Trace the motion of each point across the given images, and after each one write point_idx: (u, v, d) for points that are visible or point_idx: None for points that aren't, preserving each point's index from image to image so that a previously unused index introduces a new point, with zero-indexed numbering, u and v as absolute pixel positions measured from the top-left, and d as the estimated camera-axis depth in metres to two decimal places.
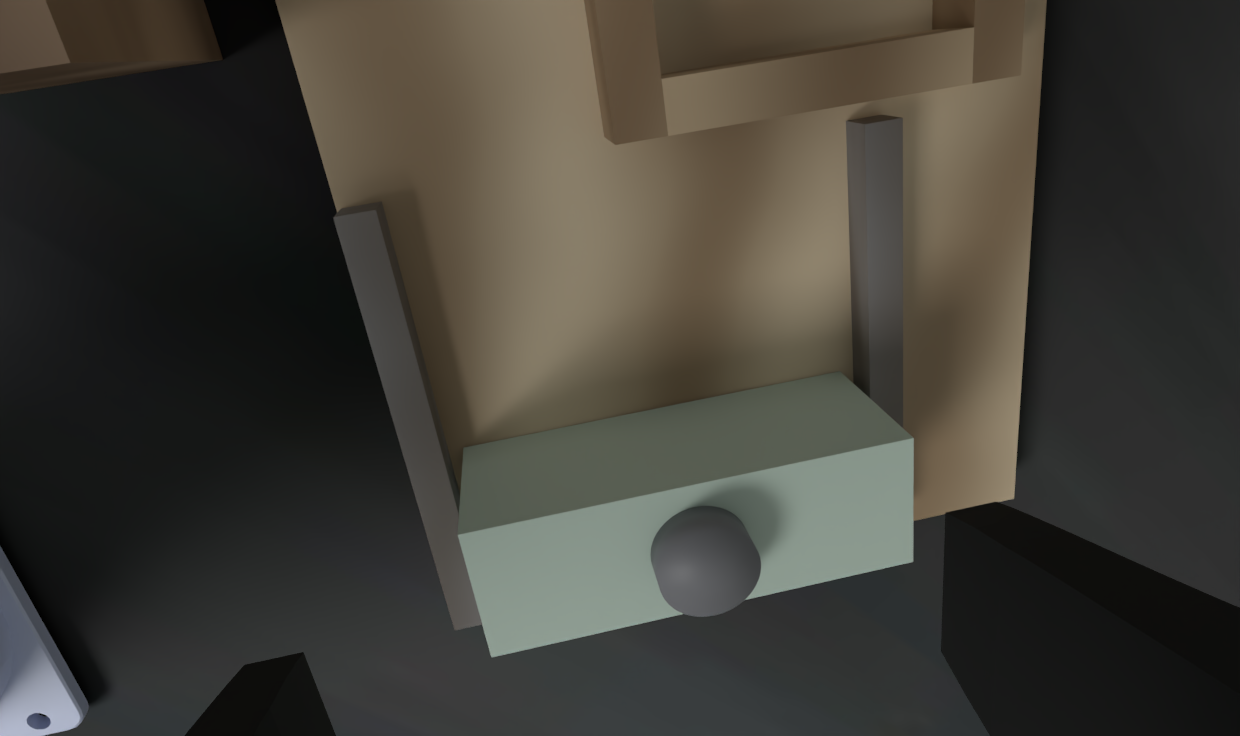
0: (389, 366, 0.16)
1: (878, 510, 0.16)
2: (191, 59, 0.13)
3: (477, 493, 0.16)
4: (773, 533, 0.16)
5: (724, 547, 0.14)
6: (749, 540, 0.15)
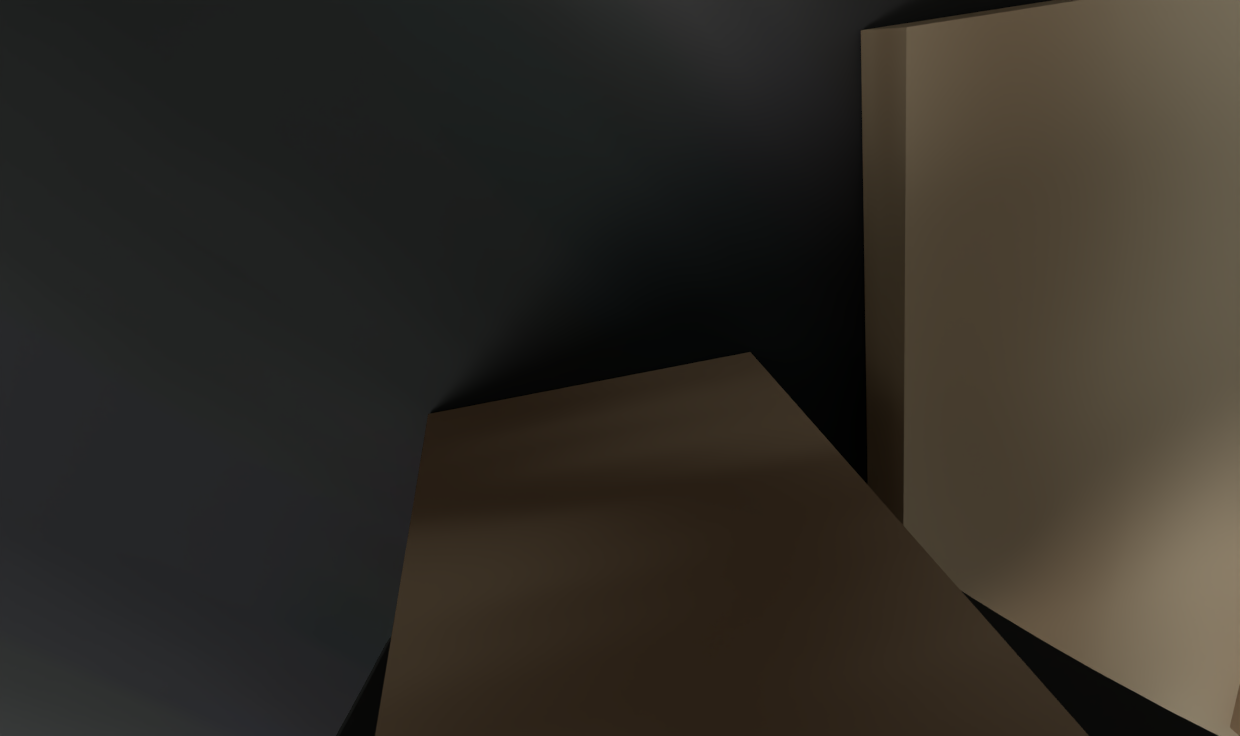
0: None
1: None
2: None
3: None
4: None
5: None
6: None
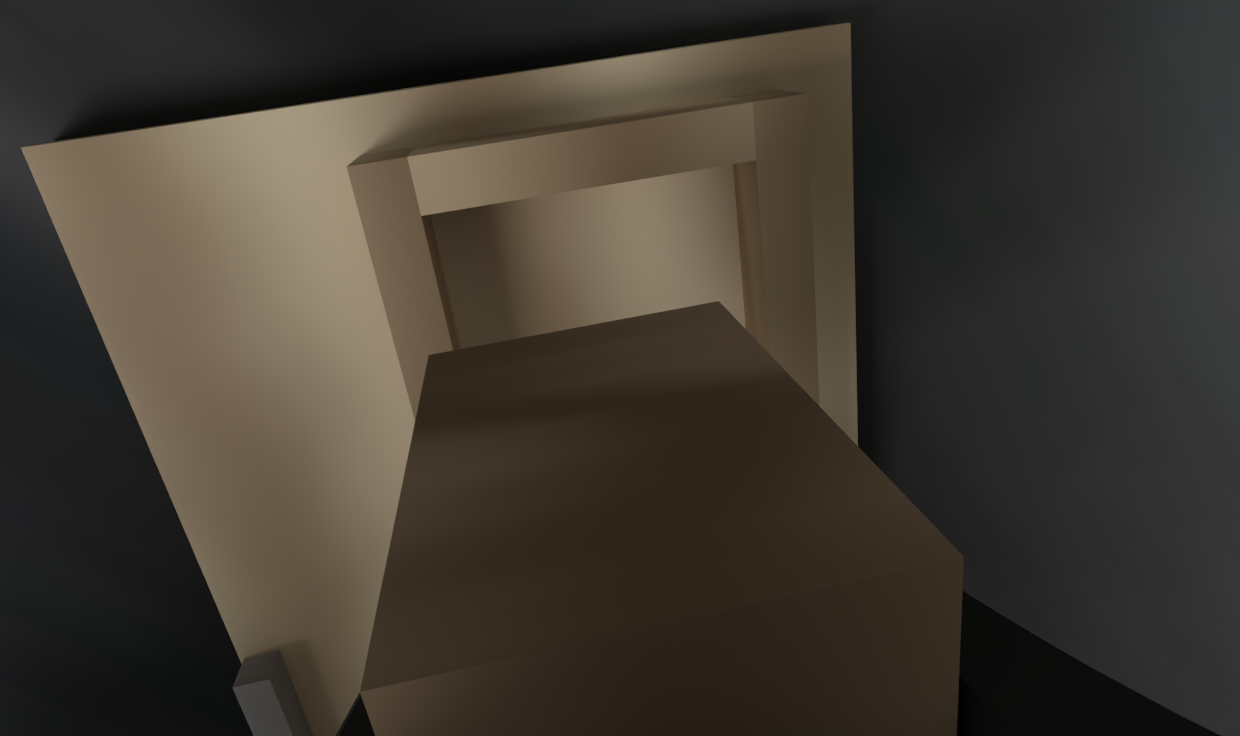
0: None
1: None
2: None
3: None
4: None
5: None
6: None
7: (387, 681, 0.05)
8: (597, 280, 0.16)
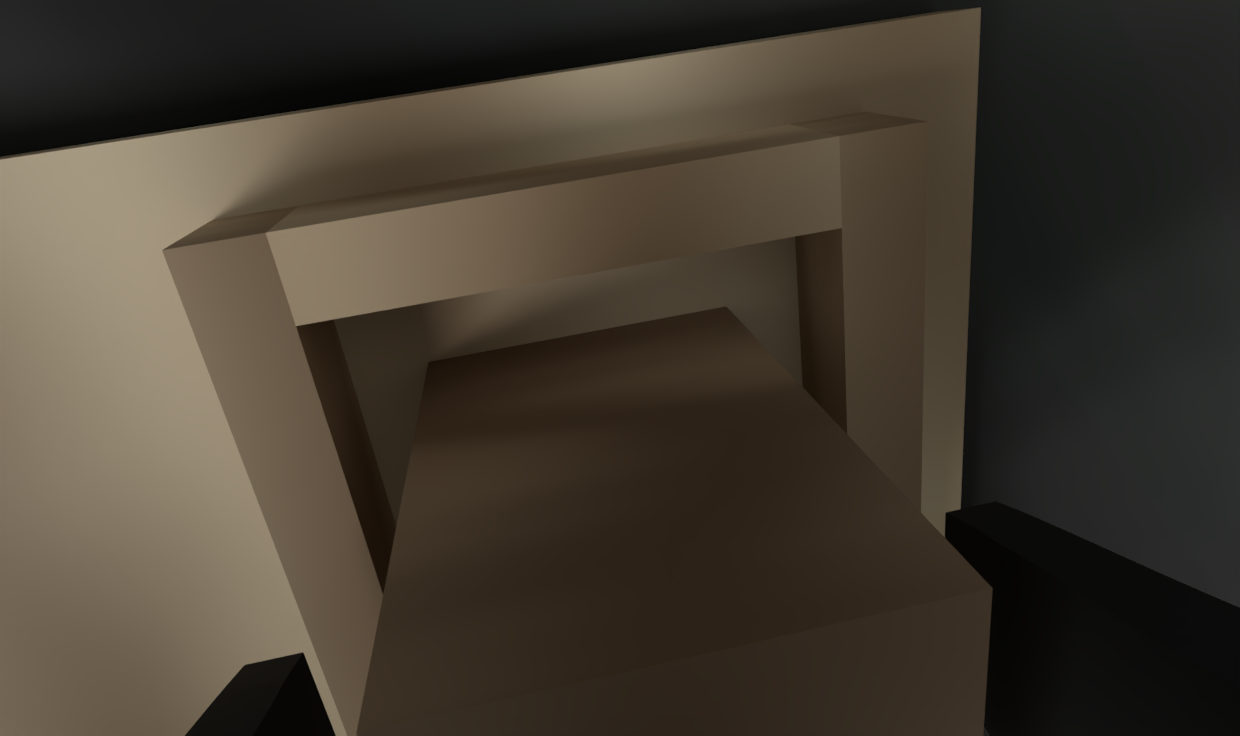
0: None
1: None
2: None
3: None
4: None
5: None
6: None
7: (385, 721, 0.05)
8: None
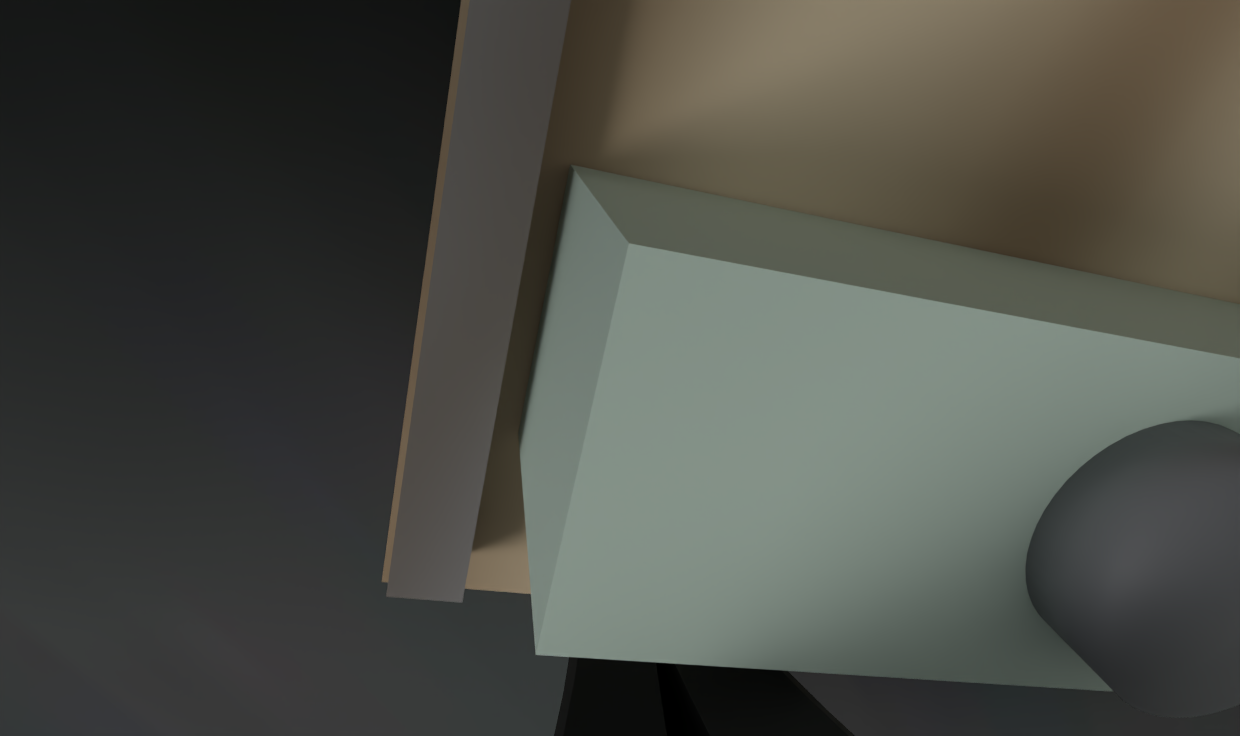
0: None
1: None
2: None
3: (644, 211, 0.06)
4: None
5: None
6: None
7: None
8: None
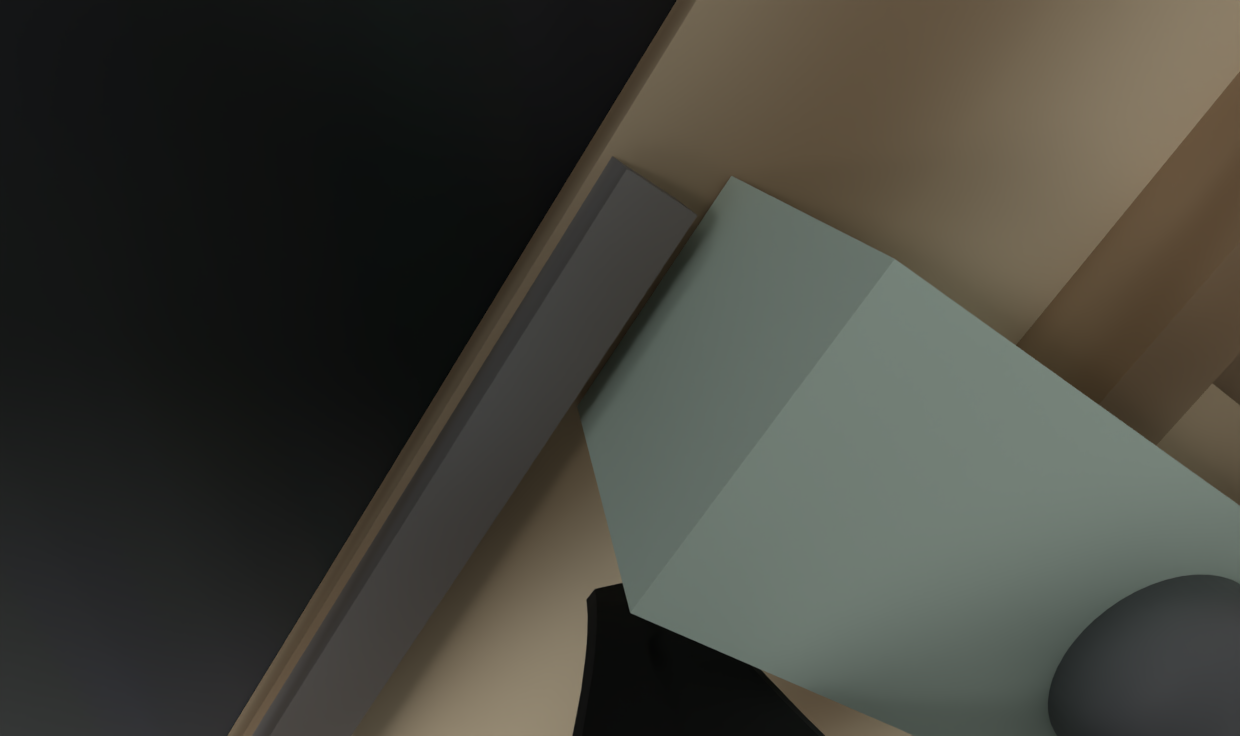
0: (476, 452, 0.08)
1: None
2: None
3: None
4: None
5: None
6: None
7: None
8: None
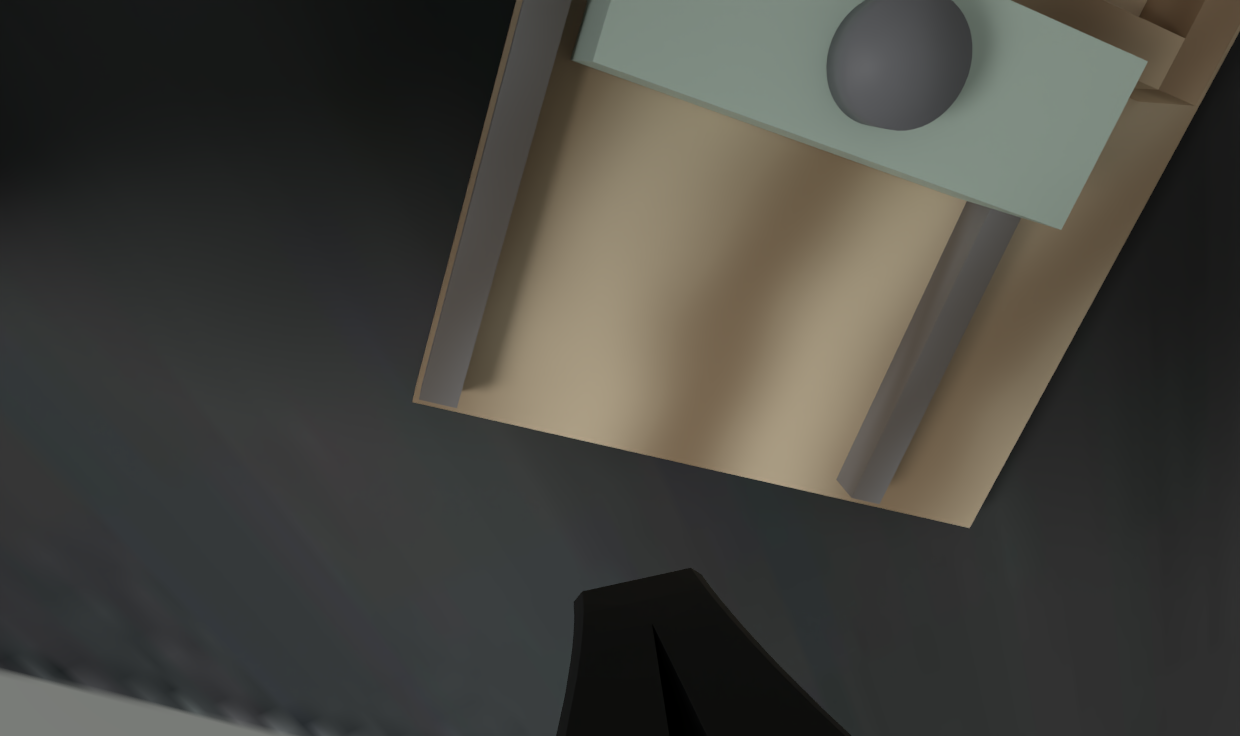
0: (520, 68, 0.14)
1: (1068, 136, 0.13)
2: None
3: None
4: (963, 93, 0.13)
5: (944, 33, 0.12)
6: (971, 42, 0.12)
7: None
8: None
